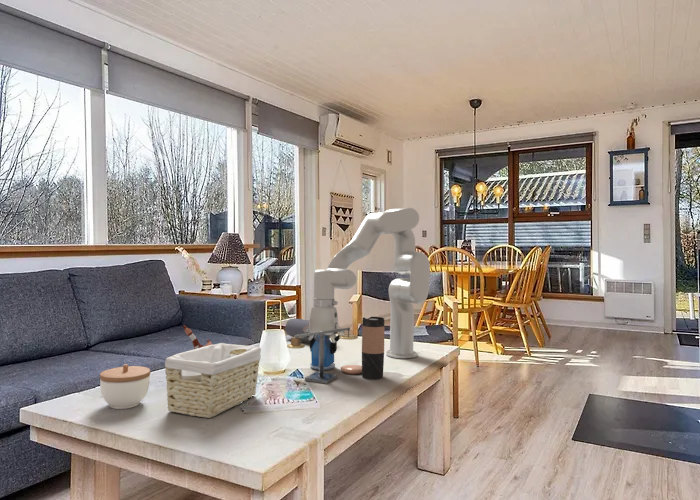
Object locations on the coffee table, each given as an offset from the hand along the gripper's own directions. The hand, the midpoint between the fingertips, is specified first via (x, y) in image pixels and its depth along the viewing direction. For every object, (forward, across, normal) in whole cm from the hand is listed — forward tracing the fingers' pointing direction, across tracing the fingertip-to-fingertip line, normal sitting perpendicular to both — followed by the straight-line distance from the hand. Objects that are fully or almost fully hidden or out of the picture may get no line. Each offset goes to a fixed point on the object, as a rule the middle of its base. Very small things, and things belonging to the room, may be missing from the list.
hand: (323, 351), depth 178 cm
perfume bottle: (+5, 0, 0) cm, 5 cm away
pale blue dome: (+6, 0, 0) cm, 6 cm away
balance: (+6, -6, +14) cm, 16 cm away
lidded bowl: (+6, +32, +60) cm, 68 cm away
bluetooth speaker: (+6, +26, -40) cm, 48 cm away
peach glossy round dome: (+6, -12, 0) cm, 13 cm away
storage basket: (+6, +10, +49) cm, 51 cm away
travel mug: (+6, -20, +4) cm, 22 cm away
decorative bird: (+6, +32, +28) cm, 43 cm away
